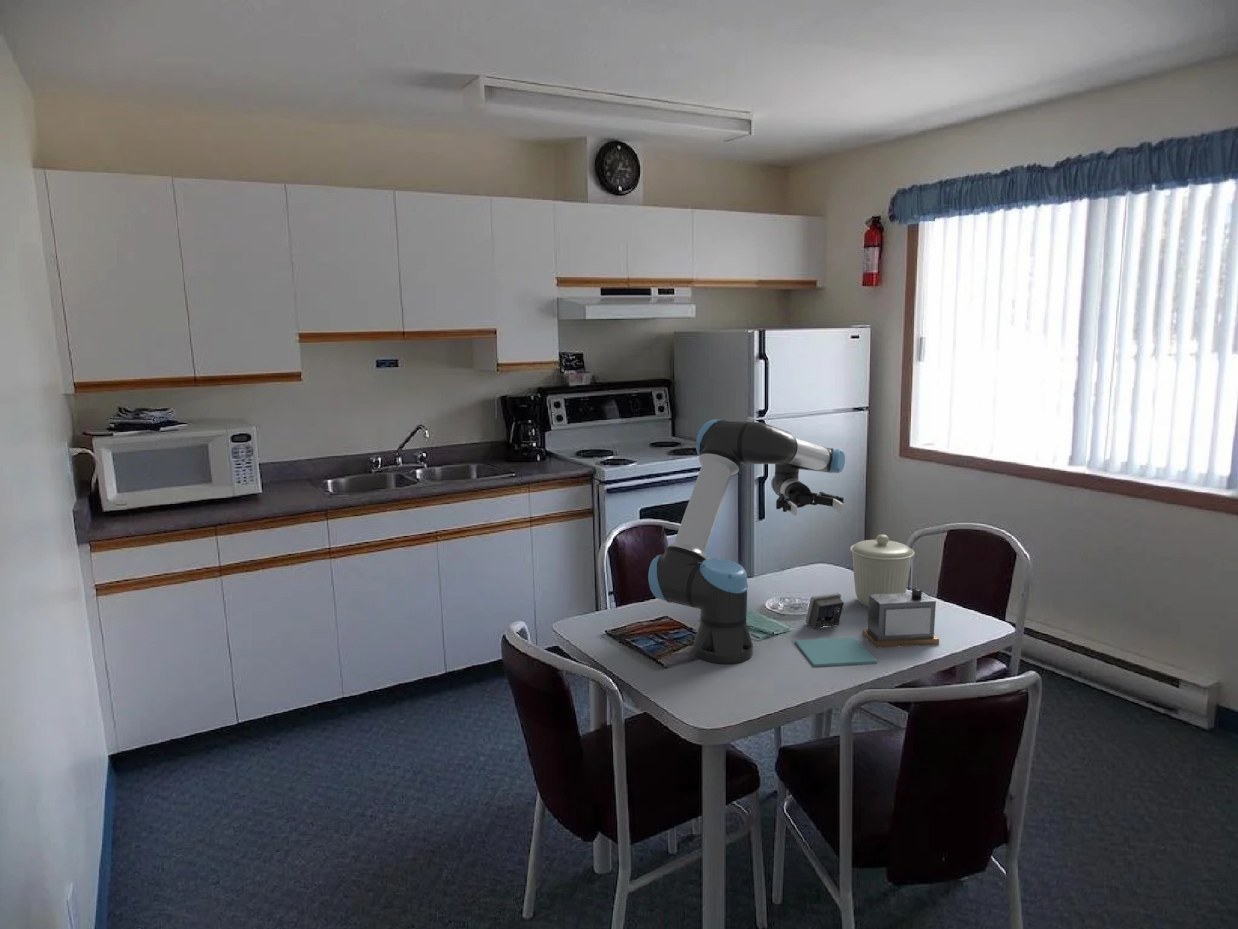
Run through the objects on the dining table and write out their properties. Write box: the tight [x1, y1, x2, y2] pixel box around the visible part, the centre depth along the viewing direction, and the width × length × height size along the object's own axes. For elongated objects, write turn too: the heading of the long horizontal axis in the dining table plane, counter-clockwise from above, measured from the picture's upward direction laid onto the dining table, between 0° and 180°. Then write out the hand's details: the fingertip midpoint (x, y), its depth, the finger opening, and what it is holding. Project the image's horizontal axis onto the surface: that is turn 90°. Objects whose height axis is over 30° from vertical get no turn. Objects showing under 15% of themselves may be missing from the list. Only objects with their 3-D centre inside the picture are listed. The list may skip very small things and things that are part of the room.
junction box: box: [861, 587, 940, 649], centre depth 210 cm, size 17×9×14 cm, turn 95°
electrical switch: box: [804, 592, 845, 630], centre depth 221 cm, size 9×5×9 cm, turn 109°
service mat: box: [794, 636, 878, 668], centre depth 204 cm, size 16×15×1 cm
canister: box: [849, 533, 915, 607], centre depth 237 cm, size 18×18×21 cm
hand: (819, 509), depth 227 cm, fingers open, 13 cm apart
